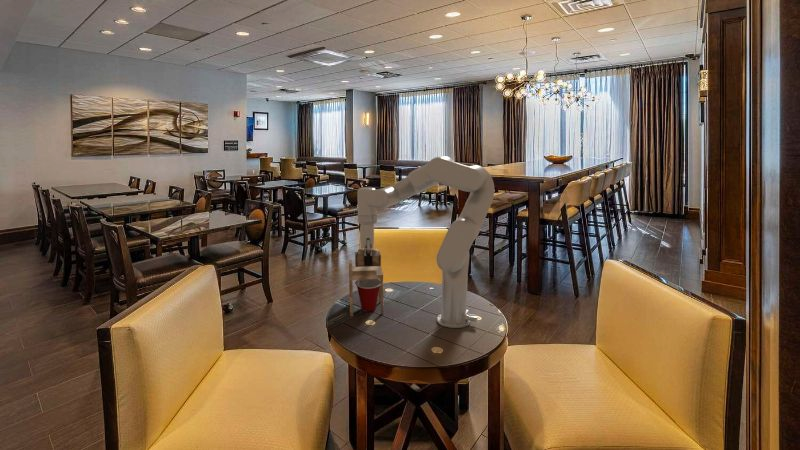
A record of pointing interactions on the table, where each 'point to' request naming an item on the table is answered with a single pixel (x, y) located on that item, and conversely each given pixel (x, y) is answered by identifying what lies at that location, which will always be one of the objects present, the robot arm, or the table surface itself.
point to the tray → (360, 258)
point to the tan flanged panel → (365, 273)
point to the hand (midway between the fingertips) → (367, 262)
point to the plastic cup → (368, 293)
